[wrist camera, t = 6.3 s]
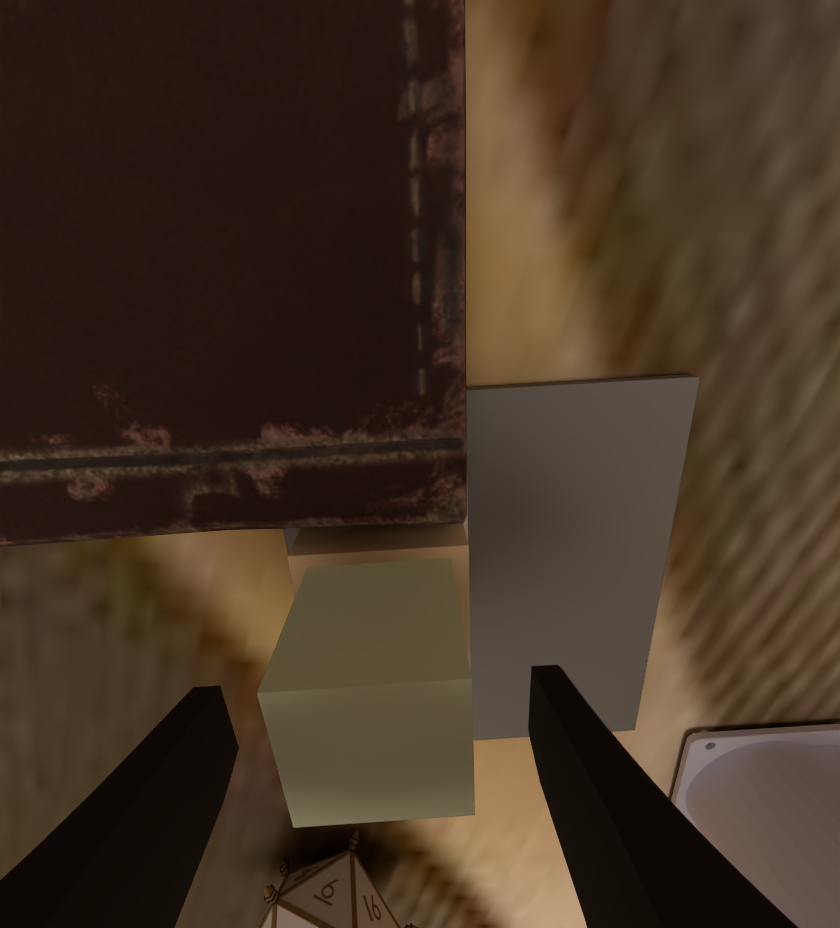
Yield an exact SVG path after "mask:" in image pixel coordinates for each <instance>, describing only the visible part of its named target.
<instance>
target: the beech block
mask: <svg viewBox="0 0 840 928" xmlns="http://www.w3.org/2000/svg"><path fill="white" fill-rule="evenodd" d="M438 558H451V561H452V567H453V573H454V579H455V585H456V590H457V596H458V602H459V608H460V613H461V619H462V625H463V631H464V636H465V642H466V648H467V654H468V659H469V665H470V594H469V544H468V540H467V536H466V532H465V529H464V525H463V524H444V525H419V526H375V527H331V528H301V529H300V531H299V533H298V535H297V537H296V539H295V541H294V543H293V545H292V547H291V549H290V551H289V553H288V555H287V559H288V565H289V570H290V575H291V580H292V585H293V590H294V595H295V597H296V594H297V592H298V589H299V586H300V584H301V581H302V579H303V576H304V574H305V571H306V569H307V567H320V566H334V565H349V564H364V563H379V562H394V561H408V560H423V559H438ZM470 671H471V669H470Z"/></svg>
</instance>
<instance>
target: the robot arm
mask: <svg viewBox="0 0 840 928" xmlns="http://www.w3.org/2000/svg"><path fill="white" fill-rule="evenodd" d="M528 731H529V736H530V740H531V745H532V749H533V754H534V758H535V762H536V767H537V771H538V775H539V779H540V783H541V786H542V789H543V792H544V796H545V799H546V802H547V805H548V808H549V811H550V814H551V817H552V820H553V823H554V826H555V829H556V832H557V835H558V839H559V842H560V845H561V848H562V851H563V854H564V857H565V860H566V863H567V866H568V869H569V872H570V875H571V878H572V881H573V884H574V887H575V890H576V893H577V896H578V899H579V902H580V906H581V909H582V912H583V915H584V918H585V921H586V925H587V928H840V724H824V725H809V726H793V727H778V728H762V729H746V730H731V731H715V732H700V733H693V734H691V735H689V736H688V737H687V739H686V743H685V747H684V751H683V755H682V759H681V763H680V767H679V771H678V775H677V779H676V783H675V787H674V791H673V795H672V799H671V800H670V799H669V798H668V797H667V796H666V795H665V794H664V793H663V792H662V791H661V790H660V788H659V787H658V786H657V785H656V784H655V783H654V782H653V781H652V779H651V778H650V777H649V776H648V775H647V774H646V773H645V772H644V770H643V769H642V768H641V767H640V766H639V765H638V763H637V762H636V761H635V760H634V759H633V758H632V756H631V755H630V754H629V753H628V752H627V750H626V749H625V748H624V747H623V746H622V745H621V743H620V742H619V741H618V740H617V739H616V737H615V736H614V735H613V734H612V733H611V731H610V730H609V729H608V728H607V726H606V725H605V724H604V723H603V722H602V720H601V719H600V718H599V716H598V715H597V714H596V713H595V711H594V710H593V709H592V708H591V706H590V705H589V704H588V702H587V701H586V700H585V699H584V697H583V696H582V695H581V693H580V692H579V691H578V689H577V688H576V687H575V685H574V684H573V683H572V681H571V680H570V679H569V677H568V676H567V674H566V673H565V672H564V670H563V669H562V668H561V667H560V666H559V665H543V666H531V683H530V702H529V720H528ZM238 748H239V747H238V744H237V740H236V737H235V734H234V730H233V727H232V724H231V720H230V717H229V714H228V710H227V707H226V704H225V700H224V697H223V694H222V690H221V687H220V686H207V687H194V688H193V689H192V690H191V691H190V692H189V693H188V694H187V695H186V696H185V697H184V698H183V699H182V700H181V701H180V702H179V703H178V704H177V705H176V706H175V707H174V708H173V709H172V710H171V711H170V712H169V713H168V715H167V716H166V717H165V718H164V719H163V720H162V721H161V722H160V723H159V724H158V725H157V726H156V727H155V728H154V729H153V730H152V731H151V732H150V733H149V735H148V736H147V737H146V738H145V739H144V740H143V741H142V742H141V743H140V744H139V745H138V746H137V747H136V748H135V749H134V750H133V751H132V752H131V753H130V754H129V755H128V756H127V758H126V759H125V760H124V761H123V762H122V763H121V764H120V765H119V766H118V767H117V768H116V769H115V770H114V771H113V772H112V773H111V774H110V775H109V776H108V777H107V778H106V779H105V780H104V781H103V782H102V783H101V784H100V785H99V786H98V787H97V788H96V789H95V790H94V791H93V792H92V793H91V794H90V795H89V796H88V797H87V798H86V799H85V800H84V801H83V802H82V803H81V804H80V805H79V806H78V807H77V808H76V809H75V810H74V811H73V812H72V813H71V814H70V815H69V816H68V817H67V818H66V819H65V820H64V821H63V822H62V823H61V824H60V825H59V826H57V827H56V828H55V829H54V830H53V831H52V832H51V833H50V834H49V835H48V836H47V837H46V838H45V839H44V840H43V841H42V842H41V843H40V844H39V845H38V846H37V847H36V848H35V849H34V850H33V851H32V852H31V853H29V854H28V855H27V856H26V857H25V858H24V859H23V860H22V861H21V862H20V863H19V864H18V865H17V866H15V867H14V868H13V869H12V870H11V871H10V872H9V873H8V874H7V875H6V876H4V877H3V878H2V879H1V880H0V928H174V927H175V925H176V922H177V920H178V917H179V914H180V912H181V909H182V907H183V904H184V902H185V899H186V897H187V894H188V892H189V889H190V886H191V884H192V881H193V879H194V876H195V874H196V871H197V869H198V866H199V864H200V861H201V859H202V856H203V854H204V851H205V848H206V846H207V843H208V841H209V838H210V836H211V833H212V830H213V828H214V825H215V823H216V820H217V817H218V815H219V812H220V810H221V807H222V804H223V802H224V798H225V795H226V791H227V788H228V785H229V781H230V778H231V774H232V771H233V767H234V763H235V759H236V756H237V752H238Z"/></svg>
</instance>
